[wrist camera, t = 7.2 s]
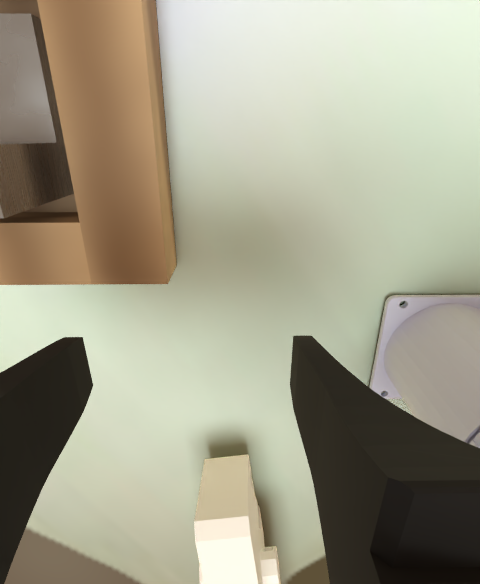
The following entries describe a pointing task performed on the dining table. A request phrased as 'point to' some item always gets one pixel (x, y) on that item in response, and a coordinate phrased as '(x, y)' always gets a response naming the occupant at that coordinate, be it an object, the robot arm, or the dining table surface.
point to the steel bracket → (28, 120)
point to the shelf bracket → (231, 527)
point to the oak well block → (100, 152)
